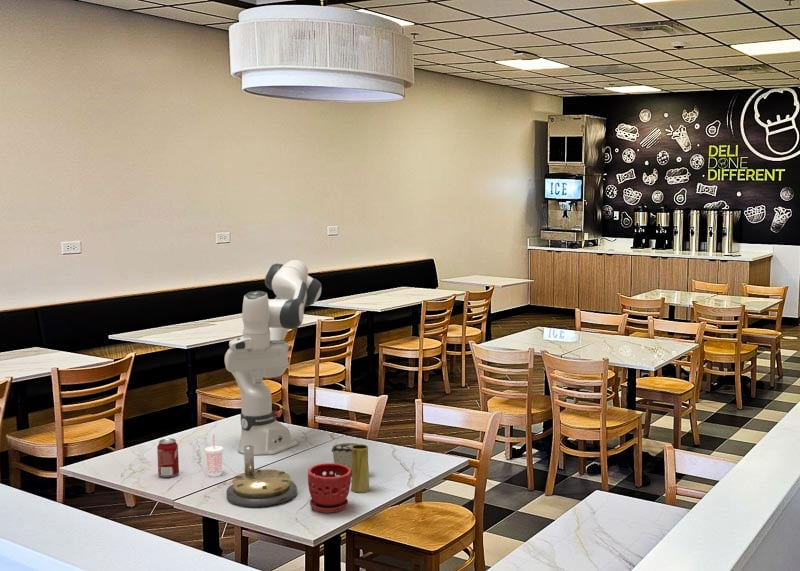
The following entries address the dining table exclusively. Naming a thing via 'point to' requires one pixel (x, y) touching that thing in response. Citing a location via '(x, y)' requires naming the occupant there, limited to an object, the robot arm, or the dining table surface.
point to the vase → (360, 469)
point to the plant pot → (329, 487)
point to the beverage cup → (214, 459)
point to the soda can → (168, 458)
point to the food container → (343, 455)
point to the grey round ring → (261, 502)
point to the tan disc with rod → (259, 480)
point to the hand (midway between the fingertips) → (257, 383)
